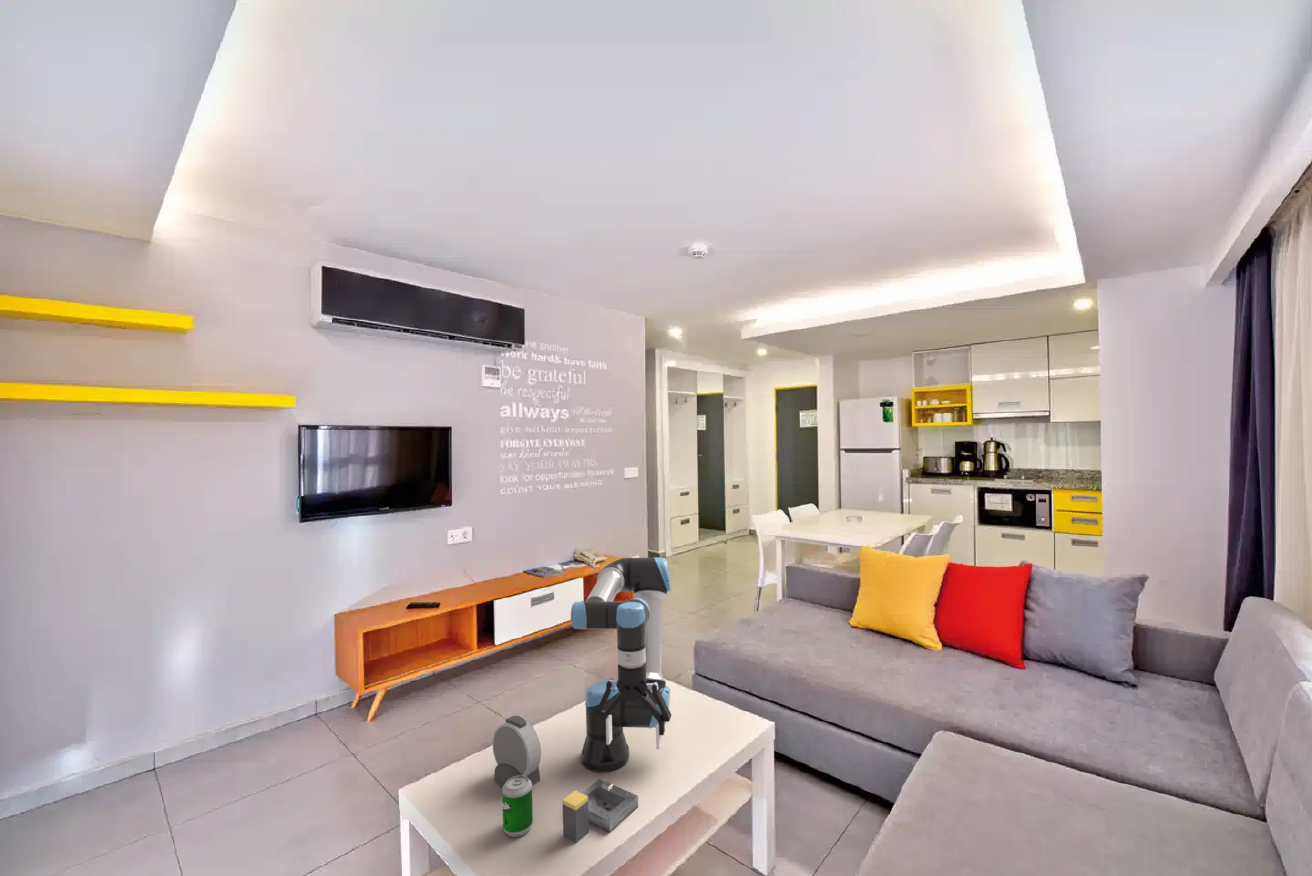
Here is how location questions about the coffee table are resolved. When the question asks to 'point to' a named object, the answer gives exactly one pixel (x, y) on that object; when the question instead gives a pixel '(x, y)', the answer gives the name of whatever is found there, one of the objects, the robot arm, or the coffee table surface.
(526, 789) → the soda can
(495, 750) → the alarm clock
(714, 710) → the coffee table surface
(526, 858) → the coffee table surface
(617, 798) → the socket plate
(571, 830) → the plug
